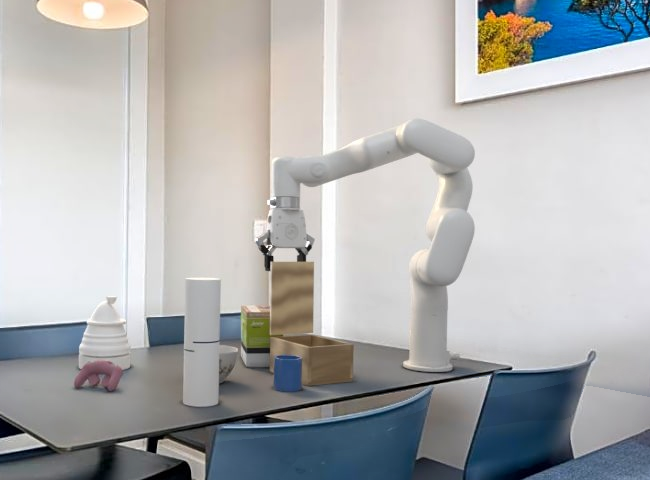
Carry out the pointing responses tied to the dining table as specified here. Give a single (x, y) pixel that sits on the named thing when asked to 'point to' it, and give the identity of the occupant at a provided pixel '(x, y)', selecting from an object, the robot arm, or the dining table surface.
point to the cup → (287, 373)
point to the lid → (291, 297)
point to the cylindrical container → (201, 341)
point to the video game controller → (96, 368)
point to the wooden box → (316, 357)
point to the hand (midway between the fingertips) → (285, 270)
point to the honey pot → (105, 337)
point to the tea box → (255, 335)
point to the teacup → (226, 361)
